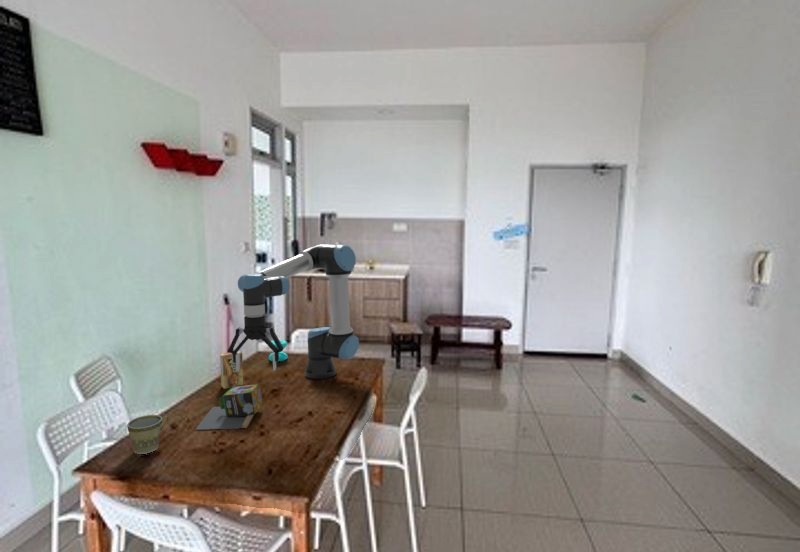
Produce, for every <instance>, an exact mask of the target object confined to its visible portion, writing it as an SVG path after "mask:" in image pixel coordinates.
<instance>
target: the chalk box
mask: <svg viewBox="0 0 800 552" xmlns="http://www.w3.org/2000/svg"><path fill="white" fill-rule="evenodd" d="M219 405H220V406H219V407H221V409H225V412H226V416H227V417H234V416H244V415H253V414H254V415H256V414H257V413H258V411H259V410H260V409H261V408H262V407H263V405H264V401H263V397H262V390H261V386H260V383H257V384H250V385H249V384H248V385H239V386H235V387H230V388H229V390H227V391H226V392H225V393H224V394H223V395H222V396H221V397H219Z"/></svg>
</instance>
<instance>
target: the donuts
mask: <svg viewBox="0 0 800 552" xmlns="http://www.w3.org/2000/svg"><path fill="white" fill-rule="evenodd" d="M270 341H271V342H272V343H273V344H274V345H275V346H276V344H275V342H274V340H270ZM279 341H280V343H281V344H282V346H283V348H284V349H285V348H286V347H287V346H288V341H286V340H282V339H279ZM276 347H277V346H276ZM268 348H269V349H271V348H270V347H269V346H268ZM277 348H278V347H277ZM273 353H274V352H272V353H270V354H269V355H268V360H269V361H271V362H273ZM288 357H289V356H288V354H287V353H286V352H283V351H282V352H279V360H278V361H276V363H279V361H280V362H284V361H286V360H287V359H288Z"/></svg>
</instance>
